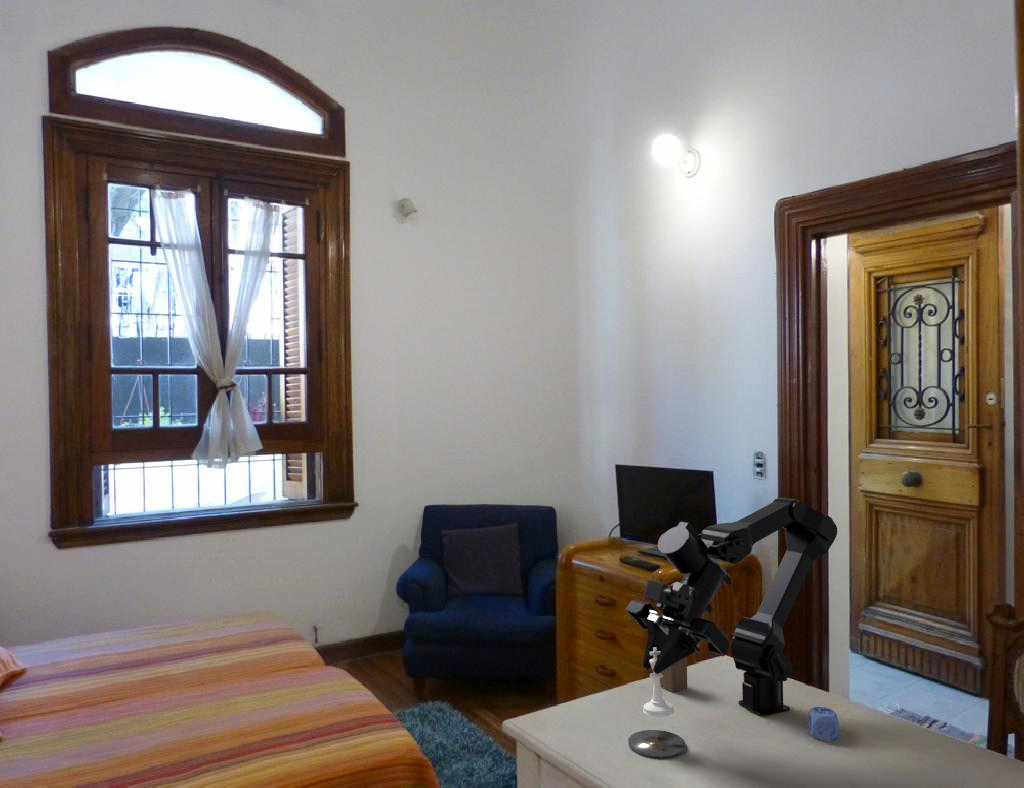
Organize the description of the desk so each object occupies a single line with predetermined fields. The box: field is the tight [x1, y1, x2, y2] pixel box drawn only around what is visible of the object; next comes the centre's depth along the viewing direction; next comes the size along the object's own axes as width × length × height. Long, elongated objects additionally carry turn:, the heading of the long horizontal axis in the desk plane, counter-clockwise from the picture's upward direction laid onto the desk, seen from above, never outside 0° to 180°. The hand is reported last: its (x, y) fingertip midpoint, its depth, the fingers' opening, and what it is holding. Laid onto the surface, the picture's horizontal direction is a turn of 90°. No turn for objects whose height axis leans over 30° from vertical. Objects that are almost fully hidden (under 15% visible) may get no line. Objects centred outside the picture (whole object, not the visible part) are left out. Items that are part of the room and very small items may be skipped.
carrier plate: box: [627, 729, 686, 759], centre depth 122 cm, size 9×9×1 cm
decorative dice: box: [807, 706, 840, 741], centre depth 125 cm, size 4×4×4 cm
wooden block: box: [660, 656, 688, 693], centre depth 147 cm, size 4×4×8 cm
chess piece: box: [642, 647, 675, 717], centre depth 122 cm, size 5×5×10 cm
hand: (649, 670), depth 122 cm, fingers closed on chess piece
